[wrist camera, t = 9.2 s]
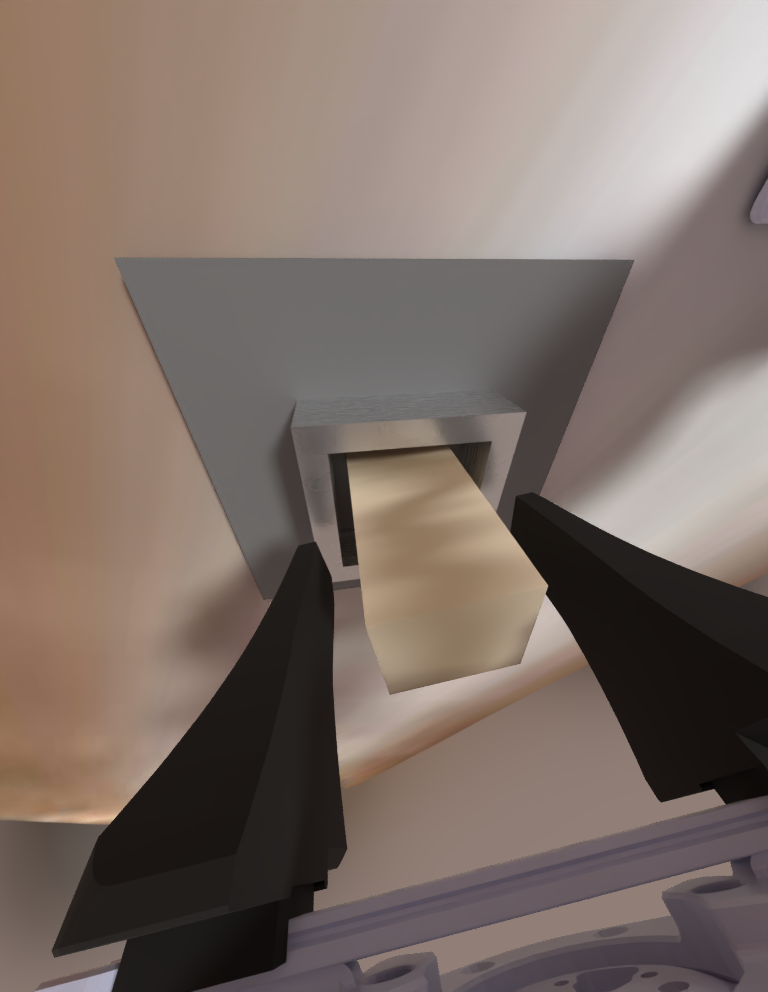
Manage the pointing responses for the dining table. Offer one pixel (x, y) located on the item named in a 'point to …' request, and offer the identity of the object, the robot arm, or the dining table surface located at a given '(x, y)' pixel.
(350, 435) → the socket
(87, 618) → the dining table surface
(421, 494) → the beige block
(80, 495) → the dining table surface
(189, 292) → the mat
